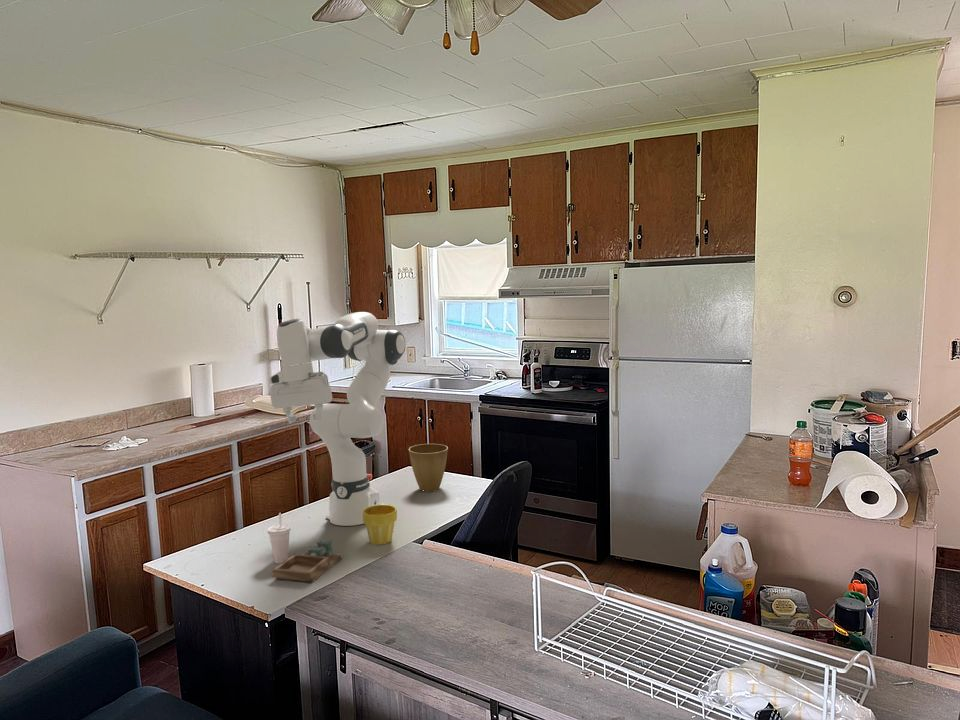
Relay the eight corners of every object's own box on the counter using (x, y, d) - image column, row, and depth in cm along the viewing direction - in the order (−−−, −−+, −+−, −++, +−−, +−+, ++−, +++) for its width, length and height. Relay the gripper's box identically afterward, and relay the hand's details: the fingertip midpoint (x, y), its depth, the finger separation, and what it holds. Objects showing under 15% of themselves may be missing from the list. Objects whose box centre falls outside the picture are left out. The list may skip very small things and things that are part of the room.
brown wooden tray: (311, 552, 198) (310, 538, 197) (344, 555, 195) (343, 541, 194) (272, 580, 179) (271, 565, 179) (309, 584, 176) (308, 569, 176)
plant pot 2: (405, 494, 251) (403, 452, 250) (416, 483, 266) (414, 443, 264) (444, 495, 249) (442, 453, 247) (453, 483, 263) (451, 443, 261)
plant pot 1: (405, 538, 207) (403, 507, 206) (382, 549, 198) (380, 517, 197) (380, 532, 213) (378, 502, 212) (356, 543, 204) (355, 511, 203)
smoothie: (286, 565, 189) (282, 517, 188) (265, 564, 190) (261, 516, 189) (296, 556, 195) (293, 509, 194) (276, 555, 197) (273, 509, 195)
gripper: (333, 369, 196) (340, 416, 196) (279, 376, 205) (285, 421, 205) (319, 372, 190) (326, 420, 190) (264, 379, 199) (271, 425, 199)
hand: (304, 421), depth 198 cm, fingers open, 8 cm apart
